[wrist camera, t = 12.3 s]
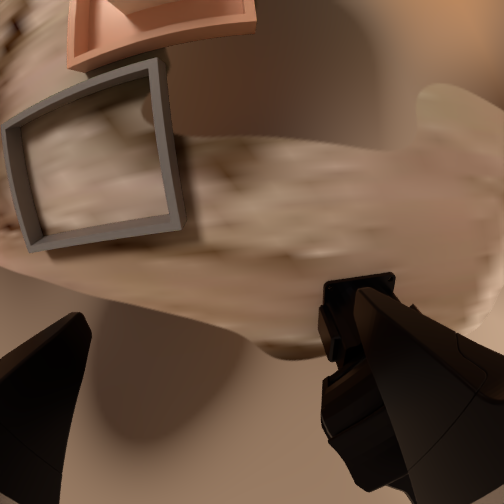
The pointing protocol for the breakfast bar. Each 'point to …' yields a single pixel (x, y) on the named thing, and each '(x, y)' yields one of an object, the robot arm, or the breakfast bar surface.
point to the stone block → (137, 4)
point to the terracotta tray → (148, 28)
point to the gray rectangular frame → (165, 151)
